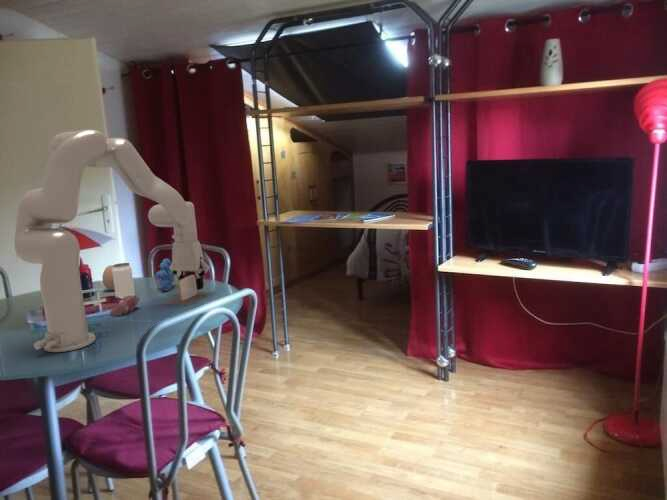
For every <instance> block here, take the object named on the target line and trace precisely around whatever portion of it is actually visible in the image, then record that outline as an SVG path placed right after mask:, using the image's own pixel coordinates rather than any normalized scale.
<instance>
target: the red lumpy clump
mask: <svg viewBox="0 0 667 500" xmlns="http://www.w3.org/2000/svg"><path fill="white" fill-rule="evenodd" d="M139 302H140V297H138V296H137V295H134V296H133V295H131V296H126V297H124V298H123V299H120V300H119V302H117V304H116V305H115V307H113V308H112V309H111V311H110V312H109V317H119V316H120V315H125V314H128V312H131V311H134V309H135V308H136V306H137V305H138V303H139Z"/></svg>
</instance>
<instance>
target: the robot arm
mask: <svg viewBox="0 0 667 500" xmlns="http://www.w3.org/2000/svg"><path fill="white" fill-rule="evenodd" d="M50 149H51V153H52V154H51V156H50V157H49V160H48V162H47V165H46V169H45V175H44V181H43V186H42V187H38V188H33V189H30V190H28V191H27V192H26V193H25V194H24V195H23V196H22V197H21V199H20V200H19V204H18V207H17V216H16V223H15V231H14V249H15V253H16V255H17V257H18V258H19V259H20V260H22V261H24V262H26V263H30V264H38V265H40V264H41V270H40V274H39V275H40V276H39V286H40V292H41V297H42V299H41V300H42V303H43V309H44V316H45V322H46V328H47V332H46V333H44V338H42V339H41V340H38V341H36V342H34V343H33V348H34V349H35V350H41V349H43V350H44V351H46V352H49V353H61V352H62V353H64V352H69V351H74V350H78V349H81V348H85V347H87V346H89V345H91V344H93V343H94V342H95V341H96V335H95V334H94V333H92V332H89V329H88V328H89V327H88V322H87V314H86V309H85V303H84V301H85V300H84V294H83V290H82V289H83V288H82V281H81V274H80V254H81V253H80V252H81V249H80V247H81V246H80V243H79V240H78V239H77V237H76V236H75V234H73V233H72V232H71V231H68V230H66V229H62V228H52V227H53V224H54V225H55V224H58V225H59V224H67V223H71V222H72V221H73V220H74V219H75V218H76V216H77V215H78V209H79V201H80V192H81V185H82V184H81V183H82V179H83V174H84V172H85V170H86V168H87V167H90V168H98V169H99V168H101V169H102V168H103V169H104V168H112V170H114V171H115V173H116V174H117V175H118V176H119V177H120V179H121V180H122V182H123V183H124V184H125V185H126V187H128V189H129V191H131V192H132V193H133V194H136V195H138V196H141V197H144V198H146V199H149V200H151V201H154V202H156V203H157V204H155V205H153V206H152V207H151V208H150V209H149V210H148V213H147V217H148V220H149V223H151V224H152V225H153V226H155V227H160V228H173V234H172V236H171V239H173V240H174V242H172V250H171V251H172V252H171V253H172V254H171V256H172V257H171V258H172V260H171V262H172V264H171V265H170V267H169V268H170V269H171V270H172V271H173V275H175V277H176V279H177V281H178V280H180V279H183V278H185V277H186V276H185V272H194V275H195V276H196V278H195V283H196V291H200V290H203V288H204V277H205V275H207V273H208V271H209V270H210V268H211V267H210V265H208V264H207V263H206V261H205V260H204V253H203V251H202V250H203V249H202V246H201V243H200V241H199V240H198V231H197V222H196V213H195V205H194V203H193V202H191V201H185V199H184V197H183V196H182V195H181V194H180V193H179V192H178V191H177V190H176V189H175V188H173V187H172V185H169V184H168V183H167V182H165V181H164V180H162V179H161V178H159V177H158V176H156V175H155V174H154V173H153V171H152V170H151V169H150V167H149V166H148V165H147V164H146V163H147V162H145V160H144V158H142V156H141V155H140V154H139V152H138V151H137V150H136V148H135V147H134V145H133V144H132V143H131V141H129V140H128V139H126V138H124V137H123V138H122V137H113V138H111V137H110V138H107V137H106V135H105V134H104V133H103V132H102V131H100V130H96V129H92V128H91V129H81V130H74V131H73V130H72V131H71V130H70V131H65V132H59V133H58V134H56V135H55V136H54V137H53V138H52V139H51V142H50Z"/></svg>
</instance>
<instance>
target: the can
mask: <svg viewBox="0 0 667 500" xmlns="http://www.w3.org/2000/svg"><path fill="white" fill-rule="evenodd" d="M112 273H113V281H114V288H115V290H114V295H115V297H116V296H117V297H119V298H121V299H120V300H122V299H123V298H124V297H126V296H131V295H133V296H136V292H135V286H134V284H135V283H134V277H133V269H132V267H131V265H130V263H129V262H121V263H115V264H113V269H112Z"/></svg>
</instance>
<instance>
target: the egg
mask: <svg viewBox="0 0 667 500" xmlns="http://www.w3.org/2000/svg"><path fill="white" fill-rule="evenodd" d="M113 265H114V264H113ZM113 265H108V266H107V267H105V268H104V270H103V273H102V284H103V285H104V286H105V288H106V289H107V290H110V291H115V288H114V281H113V273H112V269H113Z"/></svg>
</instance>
